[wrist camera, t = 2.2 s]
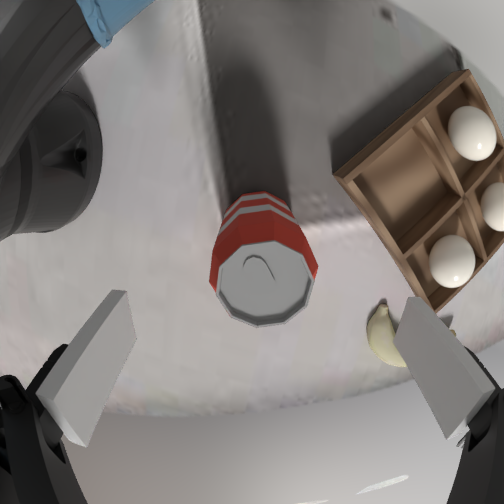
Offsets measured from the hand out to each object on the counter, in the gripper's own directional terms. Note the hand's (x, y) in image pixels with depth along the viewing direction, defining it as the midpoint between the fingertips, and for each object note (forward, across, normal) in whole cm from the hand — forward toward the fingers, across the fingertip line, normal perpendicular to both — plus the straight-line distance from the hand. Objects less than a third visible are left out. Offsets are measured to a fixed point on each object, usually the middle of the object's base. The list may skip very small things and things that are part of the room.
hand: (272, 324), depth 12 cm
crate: (+15, +20, +5) cm, 26 cm away
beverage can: (+15, 0, 0) cm, 15 cm away
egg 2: (+14, +20, -2) cm, 25 cm away
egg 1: (+14, +20, +12) cm, 28 cm away
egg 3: (+14, +27, +5) cm, 31 cm away
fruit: (+16, +21, -13) cm, 29 cm away
